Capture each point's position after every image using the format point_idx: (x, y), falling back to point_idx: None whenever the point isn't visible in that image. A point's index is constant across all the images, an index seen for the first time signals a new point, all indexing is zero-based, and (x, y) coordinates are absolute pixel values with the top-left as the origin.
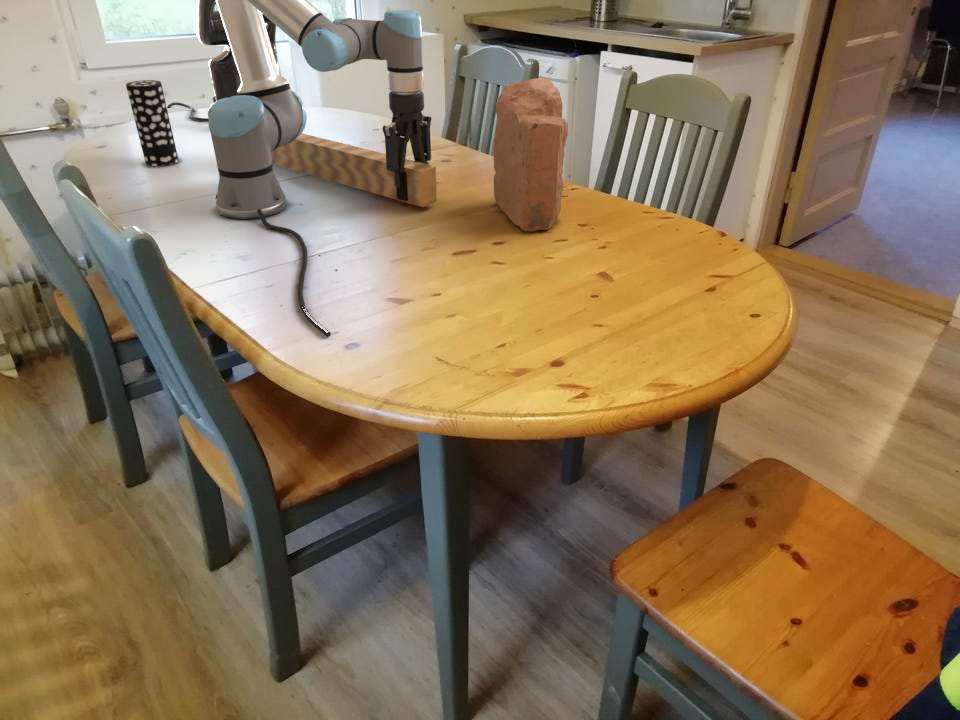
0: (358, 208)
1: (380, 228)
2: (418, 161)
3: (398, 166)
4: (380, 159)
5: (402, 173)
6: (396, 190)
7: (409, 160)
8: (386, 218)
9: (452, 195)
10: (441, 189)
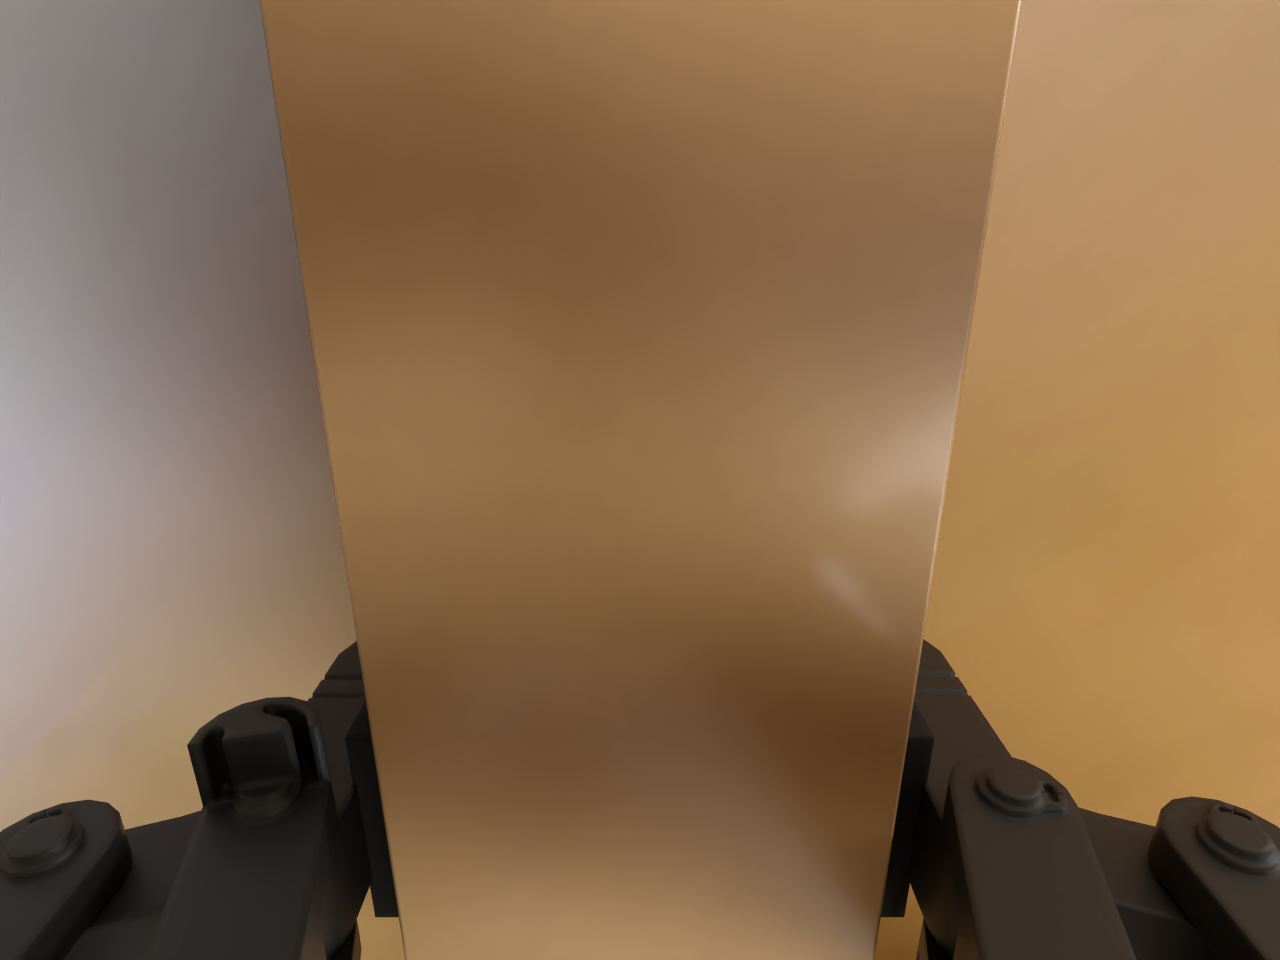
0: (138, 150)
1: (30, 702)
2: (949, 889)
3: (391, 822)
4: (408, 94)
5: (372, 874)
6: None
7: (861, 769)
8: (211, 591)
9: (1099, 661)
10: (1225, 470)
